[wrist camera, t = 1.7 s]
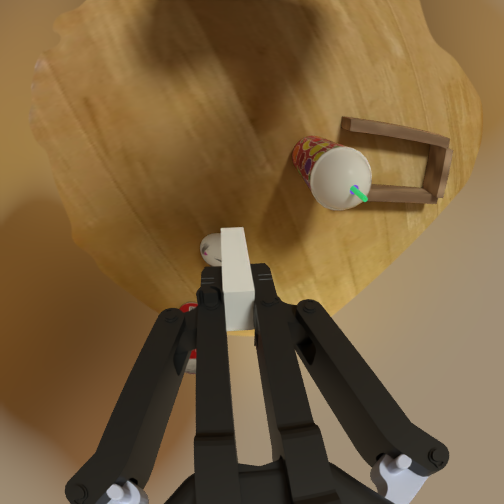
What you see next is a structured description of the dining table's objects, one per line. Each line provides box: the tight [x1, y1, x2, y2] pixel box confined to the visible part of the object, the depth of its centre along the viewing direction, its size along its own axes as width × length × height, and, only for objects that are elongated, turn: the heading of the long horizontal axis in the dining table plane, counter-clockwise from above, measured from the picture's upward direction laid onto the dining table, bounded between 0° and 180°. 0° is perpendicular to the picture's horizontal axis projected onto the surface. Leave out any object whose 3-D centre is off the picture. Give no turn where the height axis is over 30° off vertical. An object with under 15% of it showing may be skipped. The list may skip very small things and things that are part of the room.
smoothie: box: [292, 136, 372, 210], centre depth 36 cm, size 8×8×20 cm
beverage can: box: [180, 303, 198, 374], centre depth 53 cm, size 6×6×15 cm
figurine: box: [200, 233, 222, 267], centre depth 48 cm, size 8×6×7 cm
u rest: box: [341, 116, 453, 204], centre depth 43 cm, size 14×22×5 cm, turn 89°
